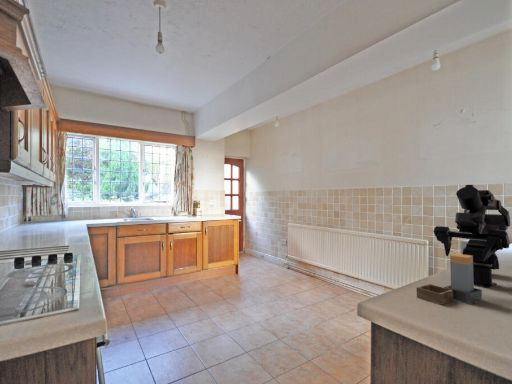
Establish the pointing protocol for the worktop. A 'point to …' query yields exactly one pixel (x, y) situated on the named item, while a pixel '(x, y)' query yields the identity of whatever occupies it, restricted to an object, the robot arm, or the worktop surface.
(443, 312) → the worktop surface
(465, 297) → the socket
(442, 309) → the worktop surface
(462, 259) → the plug
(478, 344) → the worktop surface
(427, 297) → the square frame
